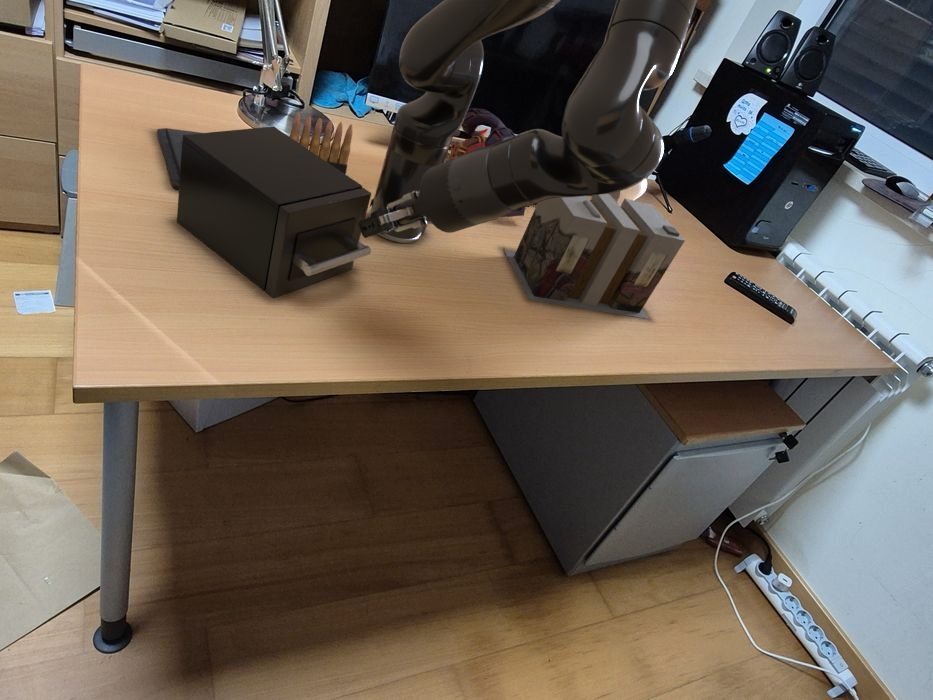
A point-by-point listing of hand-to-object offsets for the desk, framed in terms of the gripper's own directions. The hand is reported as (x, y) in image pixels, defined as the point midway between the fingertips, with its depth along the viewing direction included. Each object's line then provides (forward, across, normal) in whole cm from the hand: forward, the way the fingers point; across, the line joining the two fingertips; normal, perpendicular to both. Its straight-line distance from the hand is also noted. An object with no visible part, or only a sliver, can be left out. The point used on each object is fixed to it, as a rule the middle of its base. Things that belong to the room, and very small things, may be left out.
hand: (364, 228), depth 78 cm
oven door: (+12, 0, -5) cm, 13 cm away
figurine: (+18, +51, 0) cm, 54 cm away
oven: (+20, 0, +3) cm, 21 cm away
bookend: (-3, +44, -21) cm, 49 cm away
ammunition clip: (+29, +21, +11) cm, 37 cm away
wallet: (+36, +8, +18) cm, 41 cm away
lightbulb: (+4, +89, -14) cm, 90 cm away
